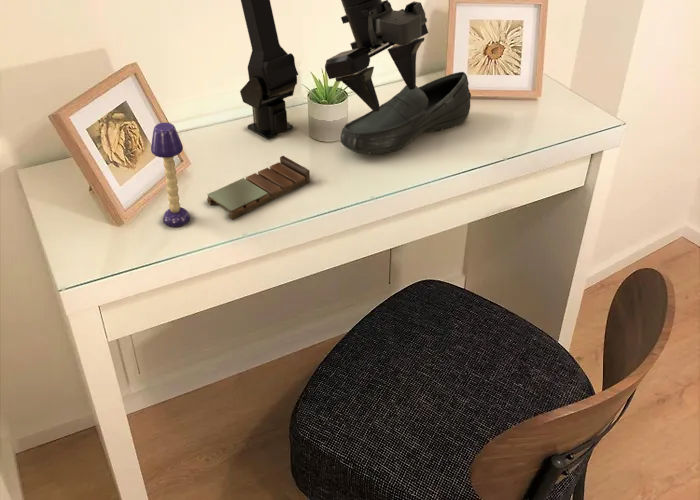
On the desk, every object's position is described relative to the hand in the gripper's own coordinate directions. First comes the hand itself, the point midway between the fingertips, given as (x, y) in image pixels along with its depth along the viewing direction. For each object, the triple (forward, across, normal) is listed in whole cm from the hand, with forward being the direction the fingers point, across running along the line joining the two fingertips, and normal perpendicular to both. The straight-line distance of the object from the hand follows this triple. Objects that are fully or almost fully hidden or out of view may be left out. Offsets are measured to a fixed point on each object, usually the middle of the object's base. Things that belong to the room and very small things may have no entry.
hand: (395, 100), depth 119 cm
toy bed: (+7, -16, +21) cm, 28 cm away
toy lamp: (+5, -30, +25) cm, 39 cm away
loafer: (+12, +16, +15) cm, 25 cm away
